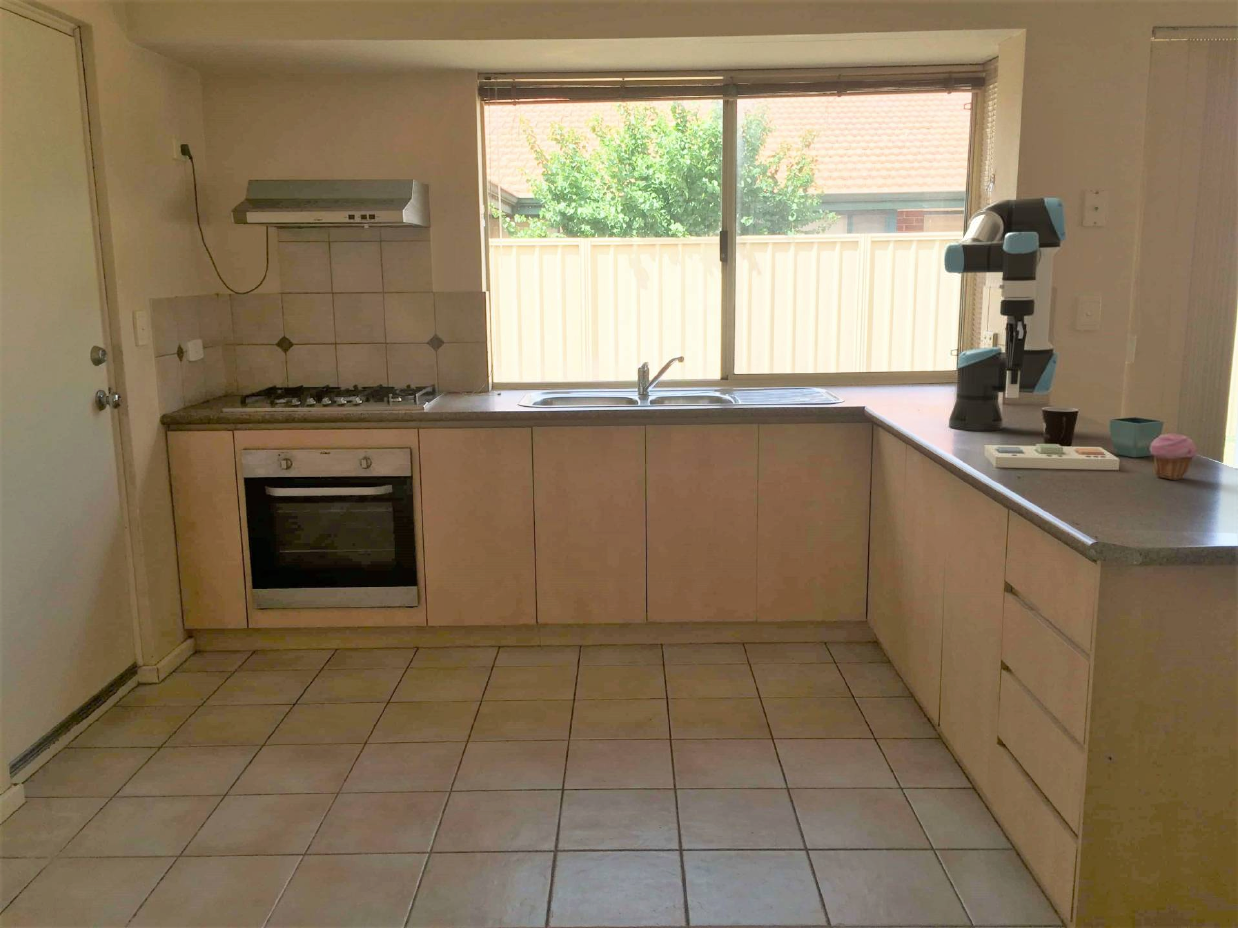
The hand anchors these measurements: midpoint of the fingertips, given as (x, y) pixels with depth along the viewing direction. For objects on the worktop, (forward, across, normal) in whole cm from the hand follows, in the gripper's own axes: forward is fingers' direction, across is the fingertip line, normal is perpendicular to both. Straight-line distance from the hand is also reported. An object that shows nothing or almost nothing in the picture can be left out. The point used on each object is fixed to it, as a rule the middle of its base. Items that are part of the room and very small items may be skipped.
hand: (1011, 397), depth 238 cm
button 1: (+15, +2, 0) cm, 15 cm away
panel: (+15, +2, +9) cm, 18 cm away
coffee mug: (+16, -18, +15) cm, 28 cm away
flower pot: (+16, -8, +31) cm, 36 cm away
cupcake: (+16, +19, +31) cm, 39 cm away
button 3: (+15, +2, +18) cm, 23 cm away
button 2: (+14, +2, +9) cm, 17 cm away
